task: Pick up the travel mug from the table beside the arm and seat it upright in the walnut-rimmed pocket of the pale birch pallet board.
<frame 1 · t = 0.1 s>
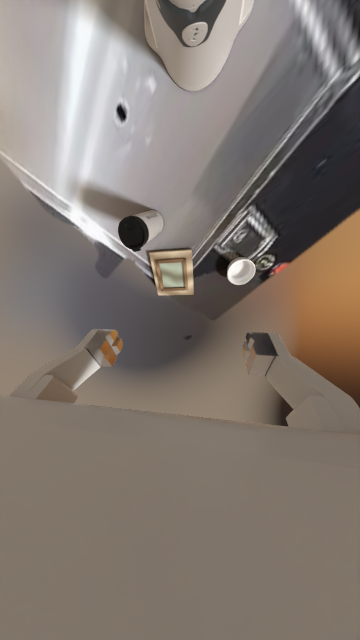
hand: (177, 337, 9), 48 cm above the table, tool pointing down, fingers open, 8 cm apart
travel mug: (154, 222, 47), on the table
ramekin: (238, 267, 53), on the table
pallet board: (173, 273, 57), on the table
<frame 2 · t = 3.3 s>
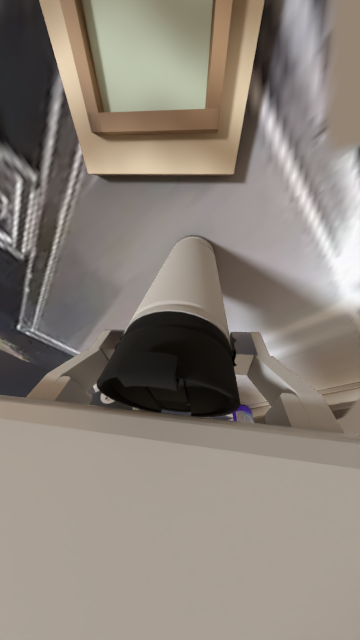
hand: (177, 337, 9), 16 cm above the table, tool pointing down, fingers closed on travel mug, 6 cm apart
travel mug: (192, 257, 21), on the table, touching gripper
pallet board: (152, 6, 10), on the table
bottle: (241, 407, 53), on the table
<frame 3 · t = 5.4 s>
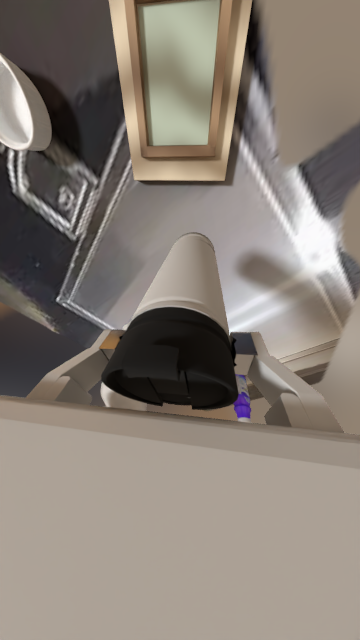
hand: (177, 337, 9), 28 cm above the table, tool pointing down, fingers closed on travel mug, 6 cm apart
travel mug: (192, 254, 21), point 12 cm above the table, touching gripper
ramekin: (27, 113, 23), on the table
pallet board: (179, 93, 19), on the table
bottle: (236, 374, 62), on the table
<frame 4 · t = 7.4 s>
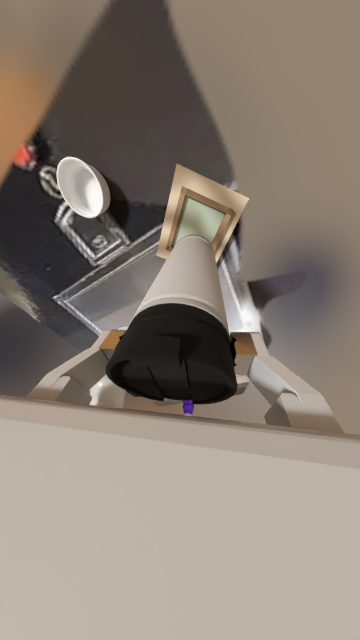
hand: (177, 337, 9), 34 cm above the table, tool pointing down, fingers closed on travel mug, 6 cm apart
travel mug: (193, 256, 22), point 17 cm above the table, touching gripper
ramekin: (93, 191, 32), on the table
pallet board: (196, 229, 34), on the table
bottle: (189, 381, 81), on the table
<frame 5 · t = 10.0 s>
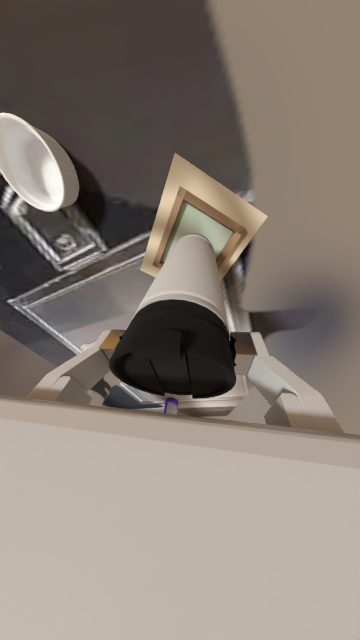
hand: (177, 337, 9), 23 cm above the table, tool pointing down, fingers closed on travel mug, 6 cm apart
travel mug: (193, 255, 22), point 6 cm above the table, touching gripper
ramekin: (55, 173, 22), on the table
pallet board: (194, 245, 26), on the table
bottle: (172, 400, 74), on the table
when the fingers open (18 cm above the table, at t = 11.7 s): travel mug stays where it is, resting on pallet board.
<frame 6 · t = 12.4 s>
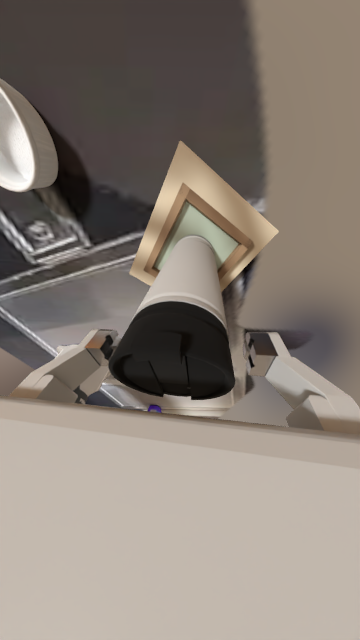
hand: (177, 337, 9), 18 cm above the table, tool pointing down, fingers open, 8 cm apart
travel mug: (192, 256, 22), point 2 cm above the table, touching pallet board
ramekin: (27, 144, 18), on the table
pallet board: (193, 252, 23), on the table
bottle: (155, 406, 71), on the table
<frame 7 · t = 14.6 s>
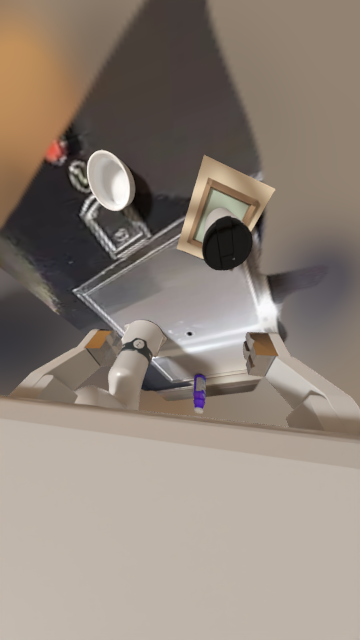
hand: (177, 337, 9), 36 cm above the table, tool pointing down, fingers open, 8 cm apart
travel mug: (218, 223, 33), point 2 cm above the table, touching pallet board
ramekin: (119, 184, 33), on the table
pallet board: (218, 222, 34), on the table
bottle: (200, 376, 82), on the table
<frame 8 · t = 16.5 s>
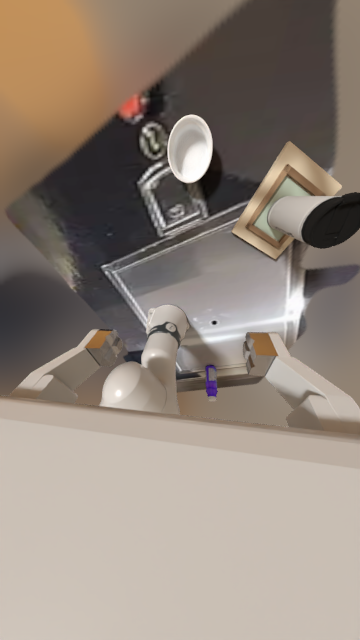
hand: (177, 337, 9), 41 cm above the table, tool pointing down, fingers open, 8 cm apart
travel mug: (280, 212, 35), point 2 cm above the table, touching pallet board
ramekin: (191, 156, 32), on the table
pallet board: (278, 211, 36), on the table
bottle: (210, 367, 83), on the table
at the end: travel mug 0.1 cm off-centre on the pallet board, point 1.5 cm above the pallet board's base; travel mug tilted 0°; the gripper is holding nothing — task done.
